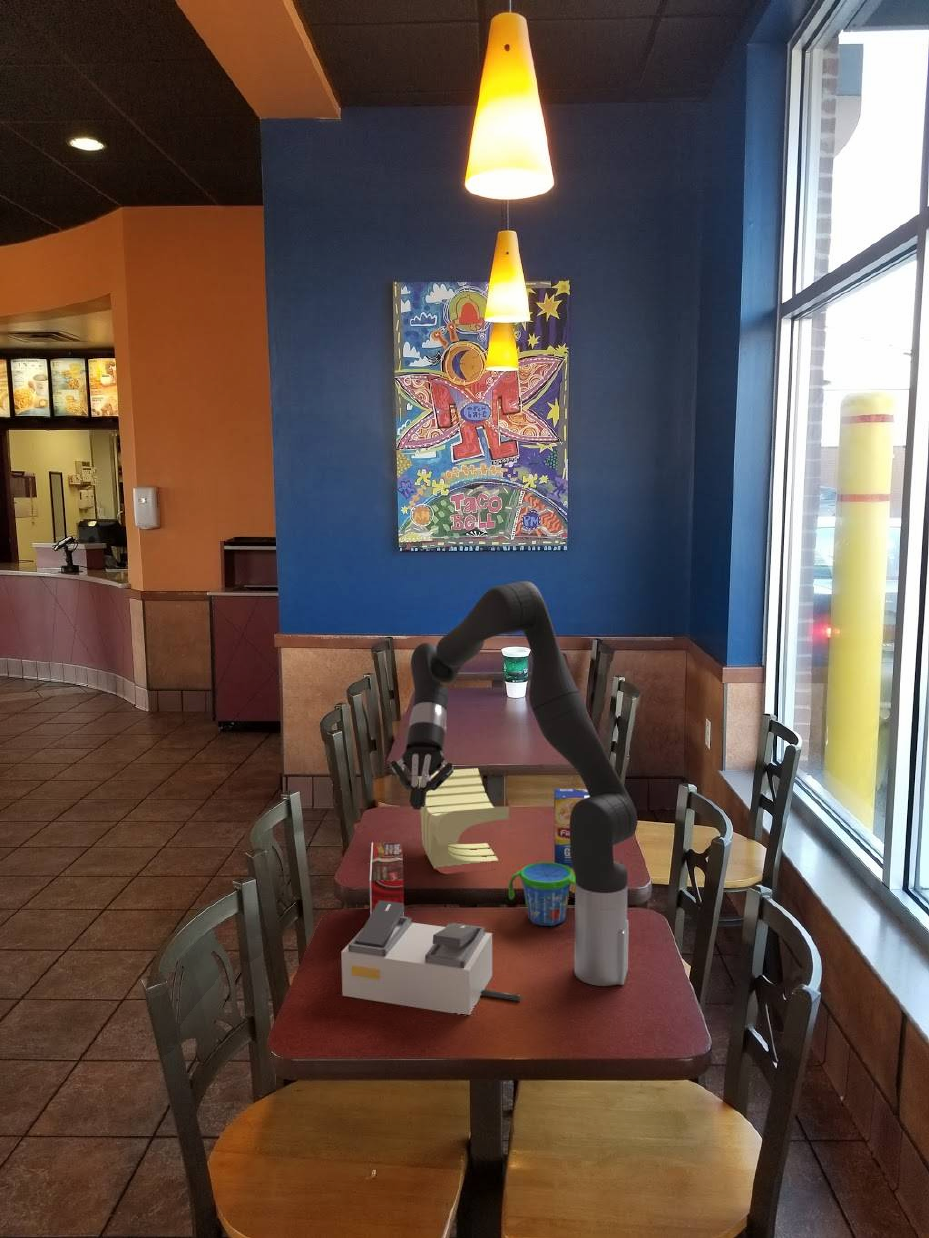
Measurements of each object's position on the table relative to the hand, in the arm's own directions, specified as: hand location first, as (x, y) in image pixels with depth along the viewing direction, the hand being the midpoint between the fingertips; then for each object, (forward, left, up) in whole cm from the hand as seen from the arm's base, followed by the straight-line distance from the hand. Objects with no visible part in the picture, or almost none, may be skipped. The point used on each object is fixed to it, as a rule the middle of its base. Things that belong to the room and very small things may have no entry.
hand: (416, 807), depth 185 cm
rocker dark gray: (0, +18, -16) cm, 24 cm away
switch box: (-10, +18, -26) cm, 33 cm away
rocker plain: (-14, +18, -16) cm, 28 cm away
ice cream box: (+8, -3, -26) cm, 28 cm away
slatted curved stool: (+3, -38, -26) cm, 46 cm away
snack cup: (-23, -14, -26) cm, 37 cm away
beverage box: (-27, -29, -26) cm, 47 cm away
